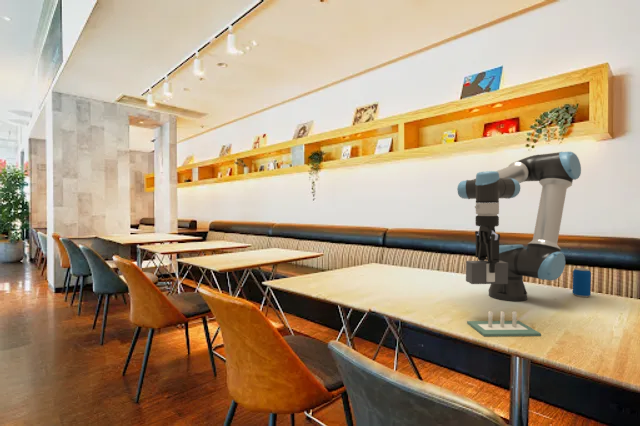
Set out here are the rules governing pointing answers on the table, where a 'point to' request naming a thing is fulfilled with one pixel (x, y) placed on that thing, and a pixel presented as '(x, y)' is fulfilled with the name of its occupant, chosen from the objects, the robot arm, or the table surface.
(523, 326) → the green peg board
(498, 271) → the block
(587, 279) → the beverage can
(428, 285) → the table surface
